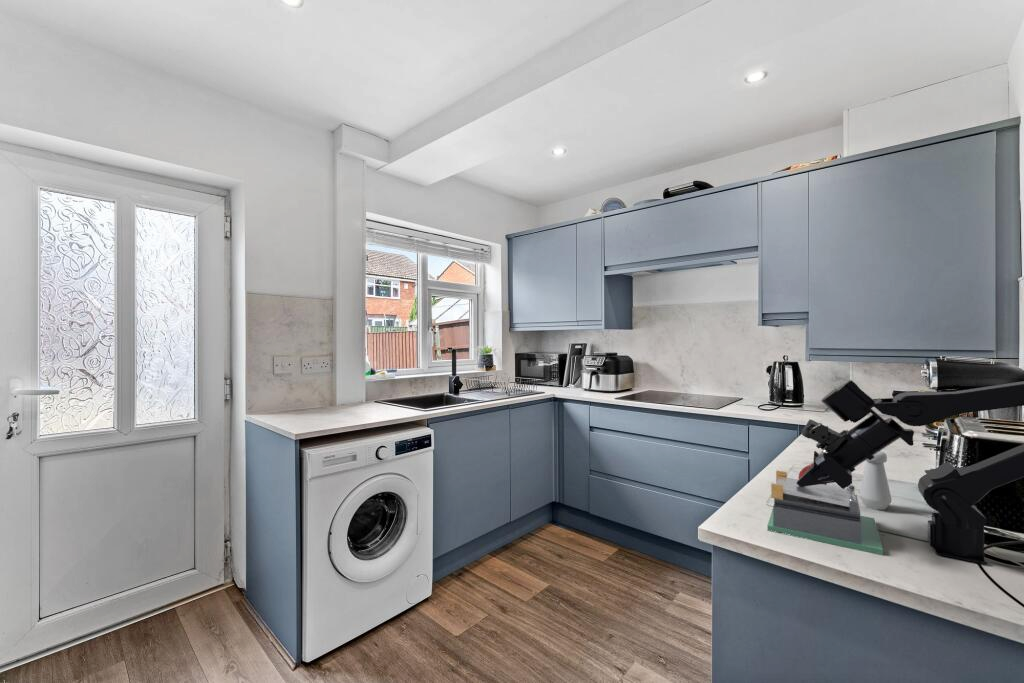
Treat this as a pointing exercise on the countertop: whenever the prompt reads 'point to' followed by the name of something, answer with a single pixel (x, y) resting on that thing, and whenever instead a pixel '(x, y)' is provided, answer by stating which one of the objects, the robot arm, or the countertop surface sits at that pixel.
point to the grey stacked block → (815, 515)
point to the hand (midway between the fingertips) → (798, 484)
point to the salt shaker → (875, 483)
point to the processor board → (868, 540)
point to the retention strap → (818, 492)
